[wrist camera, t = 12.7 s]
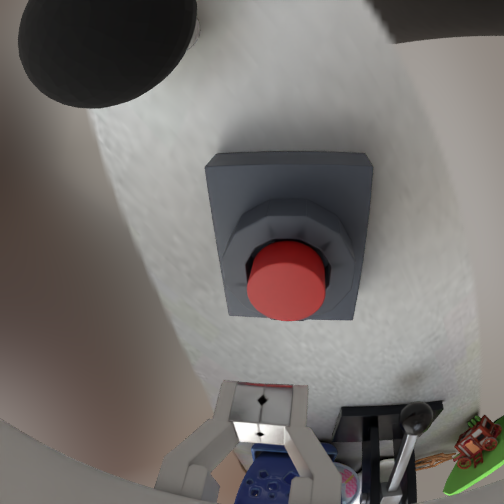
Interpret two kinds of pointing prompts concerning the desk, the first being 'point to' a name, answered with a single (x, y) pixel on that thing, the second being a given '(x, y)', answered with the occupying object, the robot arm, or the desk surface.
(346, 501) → the pencil case
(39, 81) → the light bulb
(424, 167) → the desk surface
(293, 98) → the desk surface
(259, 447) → the flower pot
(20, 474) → the robot arm
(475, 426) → the green stand with toy
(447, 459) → the emblem
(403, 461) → the switch lever
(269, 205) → the control box
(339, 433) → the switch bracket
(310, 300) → the button
